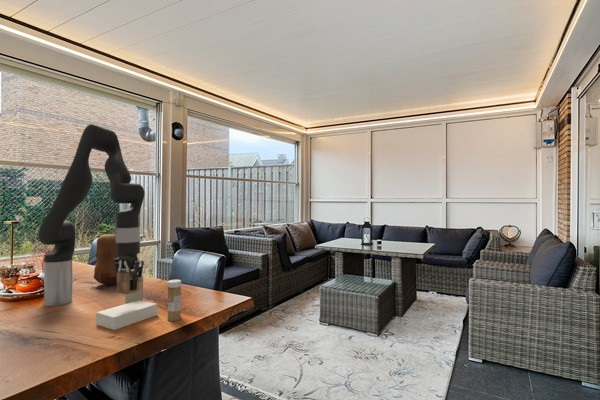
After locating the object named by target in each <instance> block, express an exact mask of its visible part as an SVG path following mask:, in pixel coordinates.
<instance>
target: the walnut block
mask: <svg viewBox="0 0 600 400" xmlns="http://www.w3.org/2000/svg"><path fill="white" fill-rule="evenodd" d="M137 273H138V274H139V272H137ZM133 274H134V272H133V273H132V275H133ZM137 291H139V278H138V279H137V289H136V290H134V291H130V274H129V273H127V271H123V272H117V284H116V293H117V294H123V295H125V294H130V293H134V292H137Z"/></svg>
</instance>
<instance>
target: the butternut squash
mask: <svg viewBox="0 0 600 400" xmlns="http://www.w3.org/2000/svg"><path fill="white" fill-rule="evenodd" d="M95 258H96V264H95V267H94V271H93V272H94V273H93V278H94V280H95V281H96V282H97V283H99V284H100V285H107V284H108V286H115V285H114V284H116V285H117V276H116V275H115V270H114V264H113V259H117V258H119V255H116V233H115V234H114V233H113V234H111V233H109V234H108V233H107V234H103V235H100V236H99V237H98V238H97V240H96V252H95ZM118 269H119V268H118ZM118 272H119V271H118Z"/></svg>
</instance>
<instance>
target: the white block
mask: <svg viewBox="0 0 600 400" xmlns="http://www.w3.org/2000/svg"><path fill="white" fill-rule="evenodd" d="M156 316H158V303H154V302H151V301H145V300H143V301H142V300H138V301H134V302H131V303H127V304H125V303H123V304H121V305H118V306H113V307H110V308H107V309H104V310H103V309H102V310H100V311H96V312H95V325H97V326H99V327H102V328H106V329H110V330H113V331H115V330H119V329H121V328H124V327H127V326H130V325H133V324H135V323H139V322H141V321H144V320H147V319H149V318H152V317H156Z"/></svg>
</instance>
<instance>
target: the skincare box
mask: <svg viewBox="0 0 600 400" xmlns="http://www.w3.org/2000/svg"><path fill="white" fill-rule="evenodd" d="M124 295H125V296H124V299H125V301H124V304H127V303H131V302H134V301H138V300H142V301H144V274H143V273H142V277H140V278H139V291H137V292H134V293H130V294H124Z"/></svg>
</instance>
